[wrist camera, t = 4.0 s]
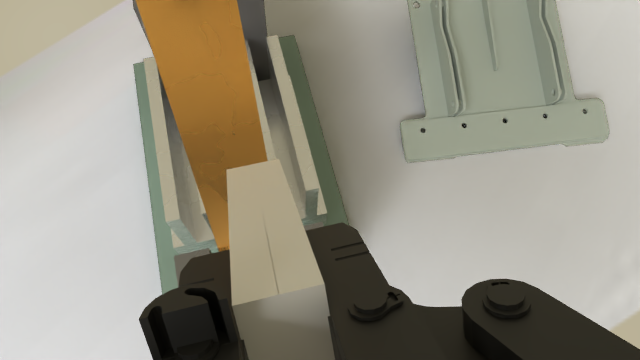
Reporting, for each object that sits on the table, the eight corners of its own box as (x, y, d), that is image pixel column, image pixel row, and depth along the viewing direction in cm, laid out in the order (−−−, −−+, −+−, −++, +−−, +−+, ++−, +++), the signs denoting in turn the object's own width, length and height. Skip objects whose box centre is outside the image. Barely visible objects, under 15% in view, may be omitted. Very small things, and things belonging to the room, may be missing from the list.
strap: (281, 235, 25) (286, 256, 24) (221, 249, 24) (224, 271, 23) (211, -125, 14) (215, -115, 13) (104, -111, 14) (100, -99, 13)
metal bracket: (383, -28, 34) (588, -47, 35) (369, 10, 40) (546, -7, 41) (415, 176, 32) (629, 149, 34) (396, 186, 38) (579, 162, 39)
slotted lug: (272, 89, 35) (262, -13, 26) (177, 107, 34) (133, 8, 26) (261, 45, 37) (248, -66, 28) (170, 62, 36) (126, -47, 27)
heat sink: (343, 289, 30) (356, 256, 23) (191, 327, 29) (154, 305, 22) (290, 91, 35) (287, 15, 28) (160, 117, 34) (123, 43, 27)
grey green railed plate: (364, 286, 31) (365, 283, 30) (170, 334, 29) (167, 333, 28) (294, 41, 38) (294, 35, 37) (136, 70, 37) (133, 64, 36)
